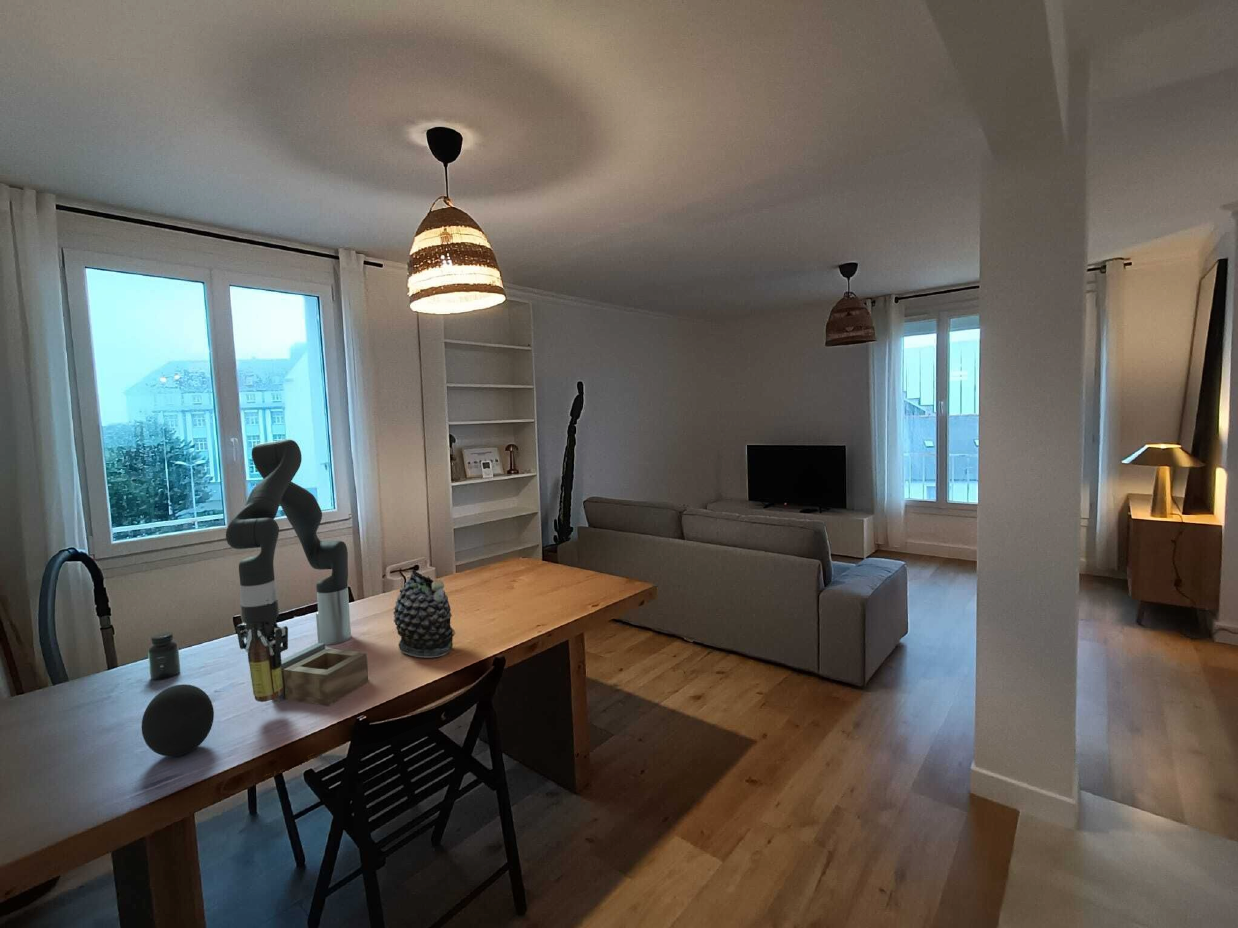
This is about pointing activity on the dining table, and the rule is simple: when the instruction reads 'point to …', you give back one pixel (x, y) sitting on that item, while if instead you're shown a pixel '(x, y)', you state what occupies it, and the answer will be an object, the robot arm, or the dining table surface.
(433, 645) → the scaly dragon egg
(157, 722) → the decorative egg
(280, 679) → the sauce bottle
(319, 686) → the open wooden box
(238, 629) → the robot arm
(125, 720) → the dining table surface
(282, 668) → the backstop
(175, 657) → the supplement bottle
